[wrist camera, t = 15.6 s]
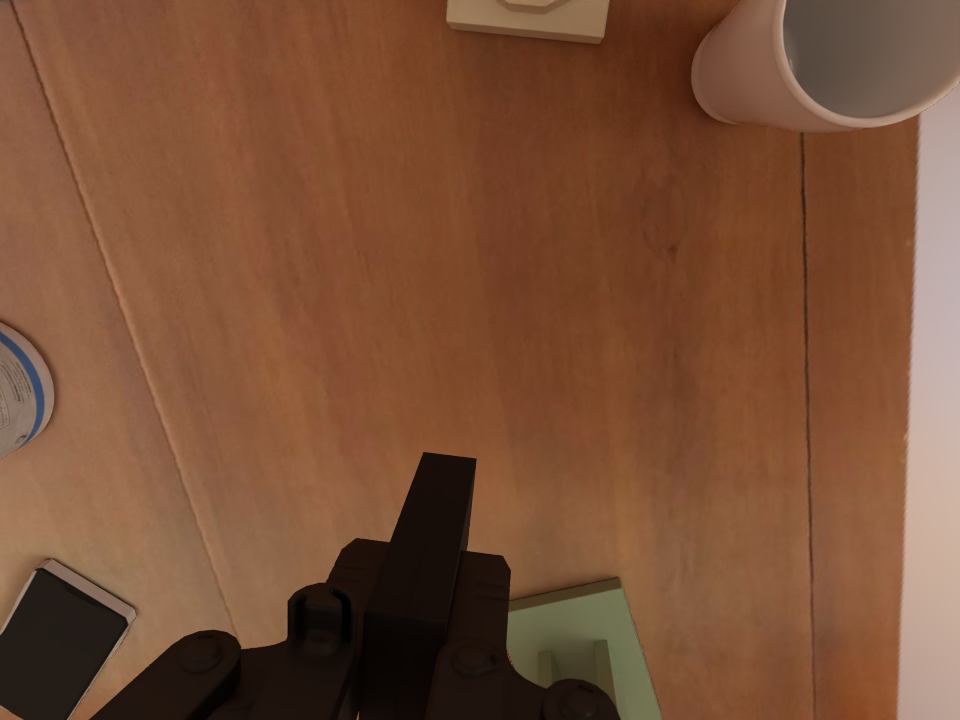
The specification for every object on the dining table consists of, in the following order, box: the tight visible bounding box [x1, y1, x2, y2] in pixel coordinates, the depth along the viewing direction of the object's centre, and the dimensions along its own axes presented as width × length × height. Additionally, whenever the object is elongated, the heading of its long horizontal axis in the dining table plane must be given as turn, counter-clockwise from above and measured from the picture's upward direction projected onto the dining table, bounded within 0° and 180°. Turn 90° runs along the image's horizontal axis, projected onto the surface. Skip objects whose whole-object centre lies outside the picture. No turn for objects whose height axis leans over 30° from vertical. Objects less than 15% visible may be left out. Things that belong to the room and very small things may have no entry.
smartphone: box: [0, 559, 136, 720], centre depth 50 cm, size 8×1×15 cm
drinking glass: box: [691, 0, 960, 133], centre depth 27 cm, size 7×7×15 cm
